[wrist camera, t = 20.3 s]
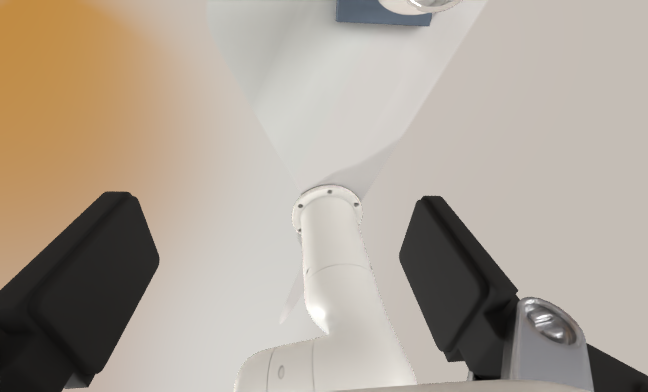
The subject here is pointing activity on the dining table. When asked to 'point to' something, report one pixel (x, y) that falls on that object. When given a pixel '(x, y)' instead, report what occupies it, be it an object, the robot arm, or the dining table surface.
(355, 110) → the dining table surface
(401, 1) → the beer glass
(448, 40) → the dining table surface
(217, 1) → the dining table surface
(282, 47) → the dining table surface
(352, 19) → the scale
